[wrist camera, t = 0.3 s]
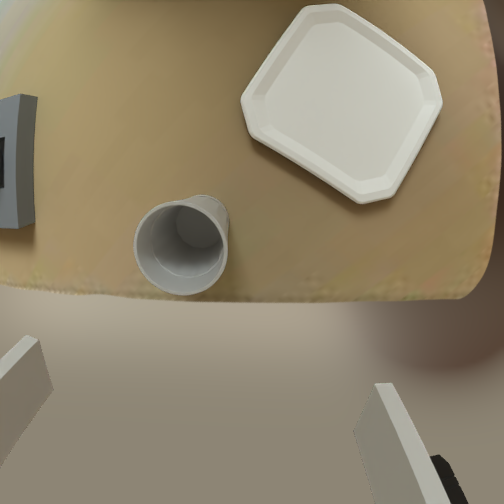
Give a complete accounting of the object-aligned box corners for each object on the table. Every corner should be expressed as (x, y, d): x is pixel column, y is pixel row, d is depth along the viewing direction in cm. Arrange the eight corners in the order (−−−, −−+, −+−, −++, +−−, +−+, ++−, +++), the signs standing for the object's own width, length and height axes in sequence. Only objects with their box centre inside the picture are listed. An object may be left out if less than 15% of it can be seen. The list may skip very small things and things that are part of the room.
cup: (199, 266, 38) (177, 312, 27) (156, 217, 36) (115, 243, 25) (250, 226, 37) (248, 257, 25) (206, 173, 35) (182, 180, 23)
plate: (226, 124, 33) (224, 122, 31) (313, -3, 28) (316, -11, 26) (373, 216, 36) (380, 219, 34) (444, 89, 31) (452, 87, 29)
